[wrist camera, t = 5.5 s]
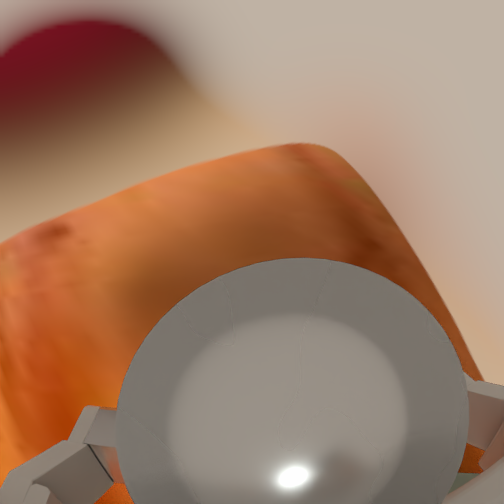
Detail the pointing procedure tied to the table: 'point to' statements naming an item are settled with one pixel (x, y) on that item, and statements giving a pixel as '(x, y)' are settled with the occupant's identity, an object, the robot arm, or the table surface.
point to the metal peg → (293, 393)
